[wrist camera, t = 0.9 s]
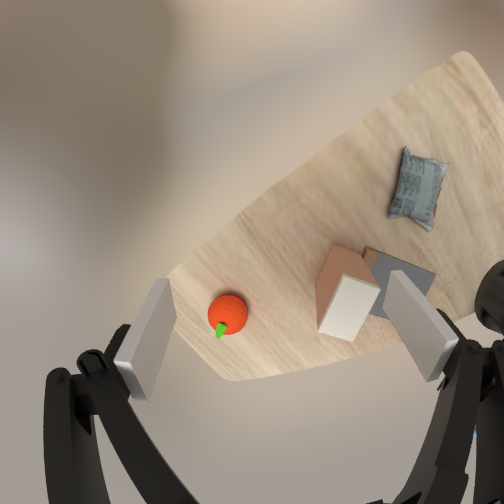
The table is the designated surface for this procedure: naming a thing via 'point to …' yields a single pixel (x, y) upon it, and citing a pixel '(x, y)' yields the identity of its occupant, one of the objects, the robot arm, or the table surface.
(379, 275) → the mat
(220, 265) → the table surface
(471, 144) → the table surface
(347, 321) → the terracotta block
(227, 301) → the clementine
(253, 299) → the table surface
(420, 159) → the packaged food
